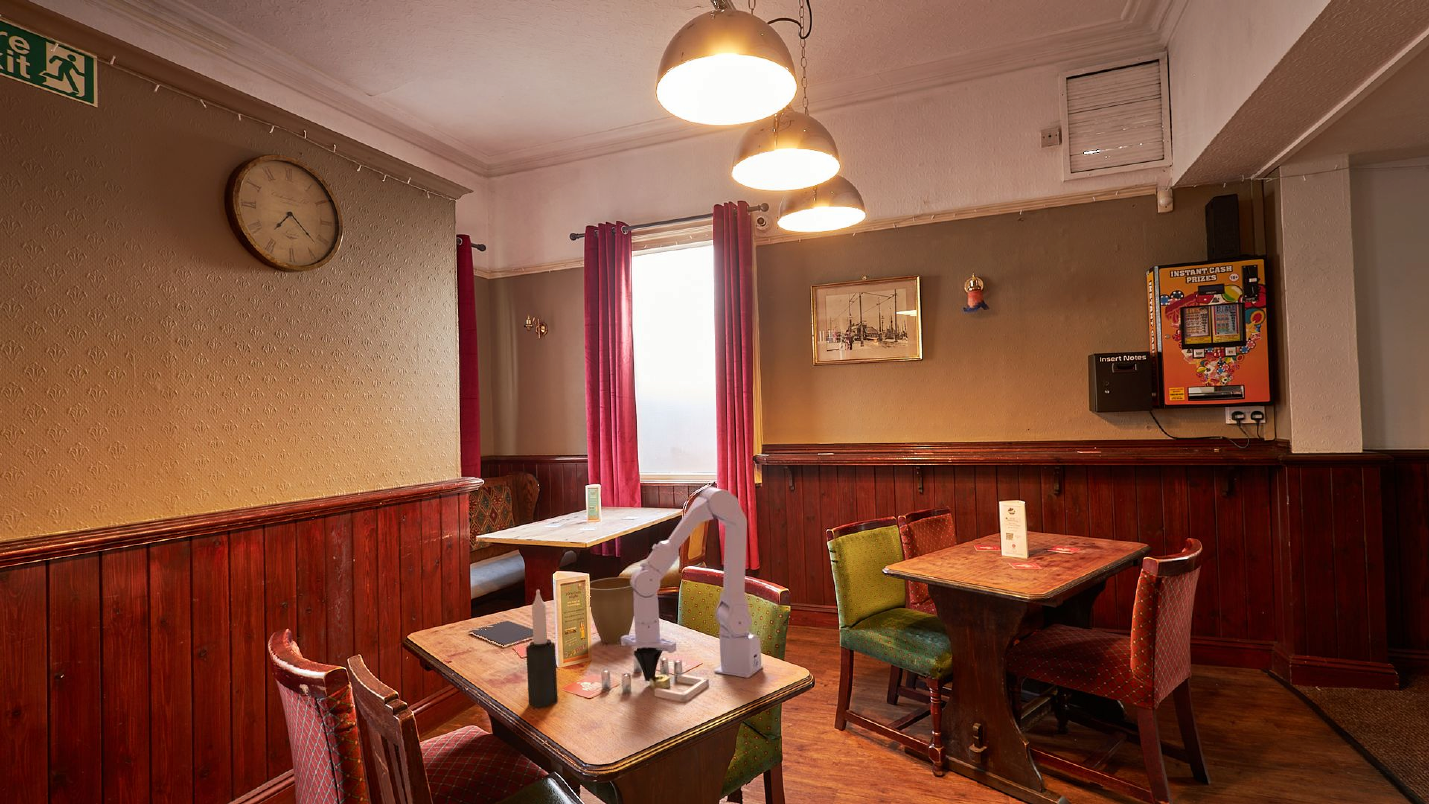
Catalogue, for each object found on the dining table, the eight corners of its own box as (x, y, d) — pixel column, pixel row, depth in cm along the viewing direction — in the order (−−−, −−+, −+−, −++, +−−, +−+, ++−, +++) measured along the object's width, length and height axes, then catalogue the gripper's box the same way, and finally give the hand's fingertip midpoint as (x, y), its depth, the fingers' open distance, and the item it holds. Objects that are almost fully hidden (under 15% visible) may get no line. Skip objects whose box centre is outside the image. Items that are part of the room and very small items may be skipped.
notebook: (468, 636, 208) (503, 650, 193) (468, 630, 208) (503, 644, 193) (507, 625, 217) (543, 637, 202) (507, 620, 217) (543, 632, 202)
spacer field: (684, 677, 164) (683, 660, 164) (649, 699, 152) (648, 681, 152) (637, 668, 171) (636, 652, 172) (600, 689, 159) (599, 672, 160)
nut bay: (708, 685, 158) (708, 678, 158) (684, 702, 150) (684, 695, 150) (679, 680, 163) (679, 673, 163) (654, 696, 154) (654, 689, 154)
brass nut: (673, 684, 160) (672, 675, 160) (661, 691, 156) (660, 682, 156) (658, 681, 162) (658, 672, 162) (647, 689, 158) (646, 679, 158)
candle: (543, 709, 150) (537, 593, 151) (526, 705, 153) (521, 591, 153) (560, 700, 154) (554, 588, 155) (543, 696, 157) (538, 586, 158)
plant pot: (638, 647, 188) (635, 588, 188) (583, 649, 188) (580, 590, 188) (644, 630, 203) (641, 575, 203) (593, 632, 203) (591, 577, 203)
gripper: (611, 622, 161) (614, 680, 161) (662, 629, 154) (665, 690, 154) (630, 614, 167) (633, 670, 167) (680, 620, 160) (683, 679, 160)
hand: (649, 679), depth 161 cm, fingers closed
